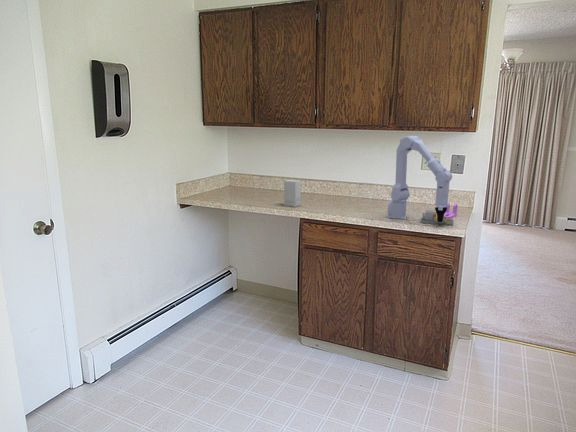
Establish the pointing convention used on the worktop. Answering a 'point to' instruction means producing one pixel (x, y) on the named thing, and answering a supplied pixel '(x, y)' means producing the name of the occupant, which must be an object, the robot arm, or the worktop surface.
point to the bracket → (450, 214)
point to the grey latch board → (437, 222)
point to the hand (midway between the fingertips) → (439, 221)
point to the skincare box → (292, 193)
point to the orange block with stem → (433, 215)
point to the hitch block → (428, 215)
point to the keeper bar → (444, 220)
